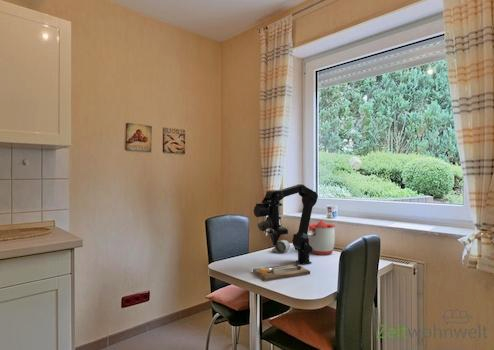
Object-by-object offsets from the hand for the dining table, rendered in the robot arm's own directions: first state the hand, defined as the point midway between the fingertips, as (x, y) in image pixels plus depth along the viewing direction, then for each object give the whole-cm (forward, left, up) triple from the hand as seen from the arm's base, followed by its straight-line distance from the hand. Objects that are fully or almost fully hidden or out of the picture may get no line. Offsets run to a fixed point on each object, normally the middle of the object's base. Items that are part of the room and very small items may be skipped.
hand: (274, 245), depth 158 cm
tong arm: (+9, 0, -10) cm, 13 cm away
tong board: (+8, -1, -12) cm, 14 cm away
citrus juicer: (-16, +40, -12) cm, 45 cm away
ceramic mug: (-28, +19, -12) cm, 36 cm away
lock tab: (+9, -11, -10) cm, 18 cm away
